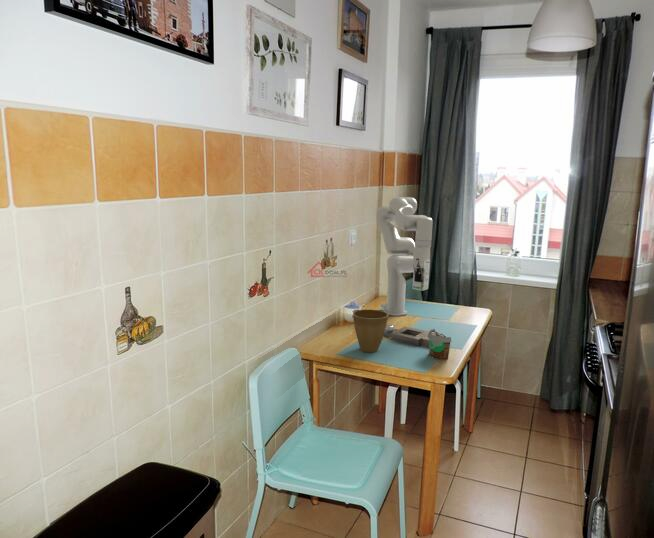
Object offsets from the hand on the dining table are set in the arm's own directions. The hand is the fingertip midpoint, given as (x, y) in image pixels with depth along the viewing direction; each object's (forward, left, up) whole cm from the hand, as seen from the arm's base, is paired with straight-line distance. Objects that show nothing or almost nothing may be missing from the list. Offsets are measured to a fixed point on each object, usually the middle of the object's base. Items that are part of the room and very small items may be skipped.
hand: (420, 280), depth 248 cm
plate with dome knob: (0, -16, -24) cm, 29 cm away
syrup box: (0, 0, -5) cm, 5 cm away
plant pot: (-4, -40, -25) cm, 47 cm away
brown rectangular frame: (+8, -16, -24) cm, 30 cm away
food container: (+22, -30, -25) cm, 45 cm away
